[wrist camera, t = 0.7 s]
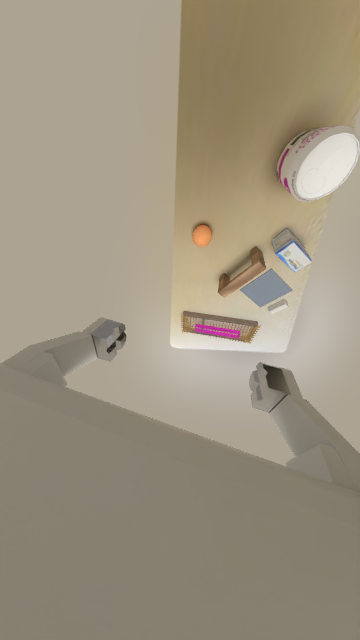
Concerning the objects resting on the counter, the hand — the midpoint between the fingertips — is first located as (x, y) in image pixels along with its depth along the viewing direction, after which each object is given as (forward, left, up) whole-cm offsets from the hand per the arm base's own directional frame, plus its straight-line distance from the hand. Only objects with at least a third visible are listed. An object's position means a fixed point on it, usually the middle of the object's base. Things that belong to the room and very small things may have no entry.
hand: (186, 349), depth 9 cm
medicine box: (-2, +23, -46) cm, 51 cm away
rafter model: (+38, +36, -47) cm, 70 cm away
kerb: (+12, +42, -46) cm, 63 cm away
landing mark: (+11, +33, -46) cm, 57 cm away
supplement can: (-12, +9, -46) cm, 48 cm away
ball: (+11, +3, -43) cm, 44 cm away
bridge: (+11, +19, -46) cm, 51 cm away
